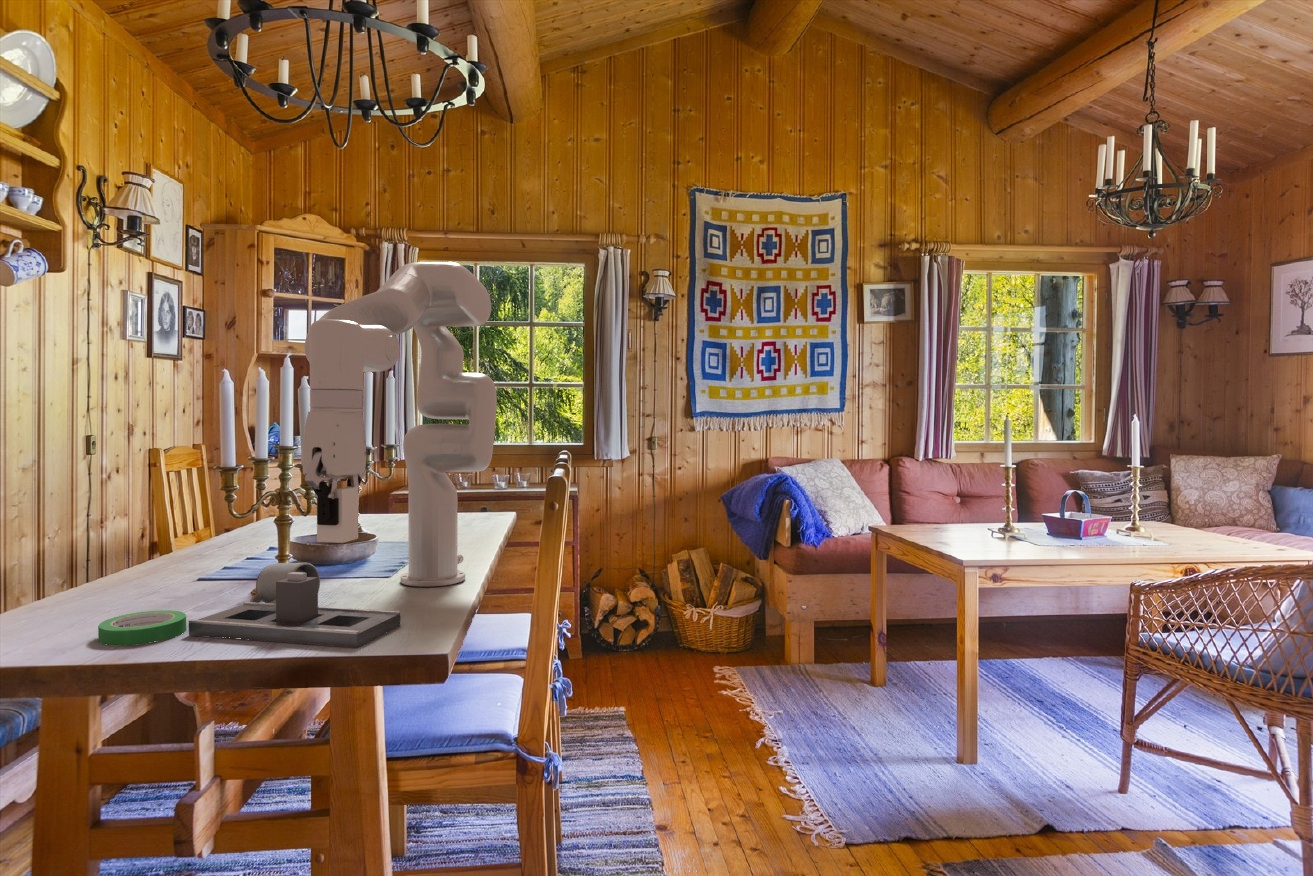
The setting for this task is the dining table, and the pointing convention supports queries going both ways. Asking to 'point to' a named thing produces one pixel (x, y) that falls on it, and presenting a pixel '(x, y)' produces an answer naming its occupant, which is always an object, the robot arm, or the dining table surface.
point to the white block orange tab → (342, 517)
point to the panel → (298, 625)
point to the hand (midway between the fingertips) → (337, 521)
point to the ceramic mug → (277, 573)
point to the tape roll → (142, 627)
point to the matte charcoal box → (297, 598)
